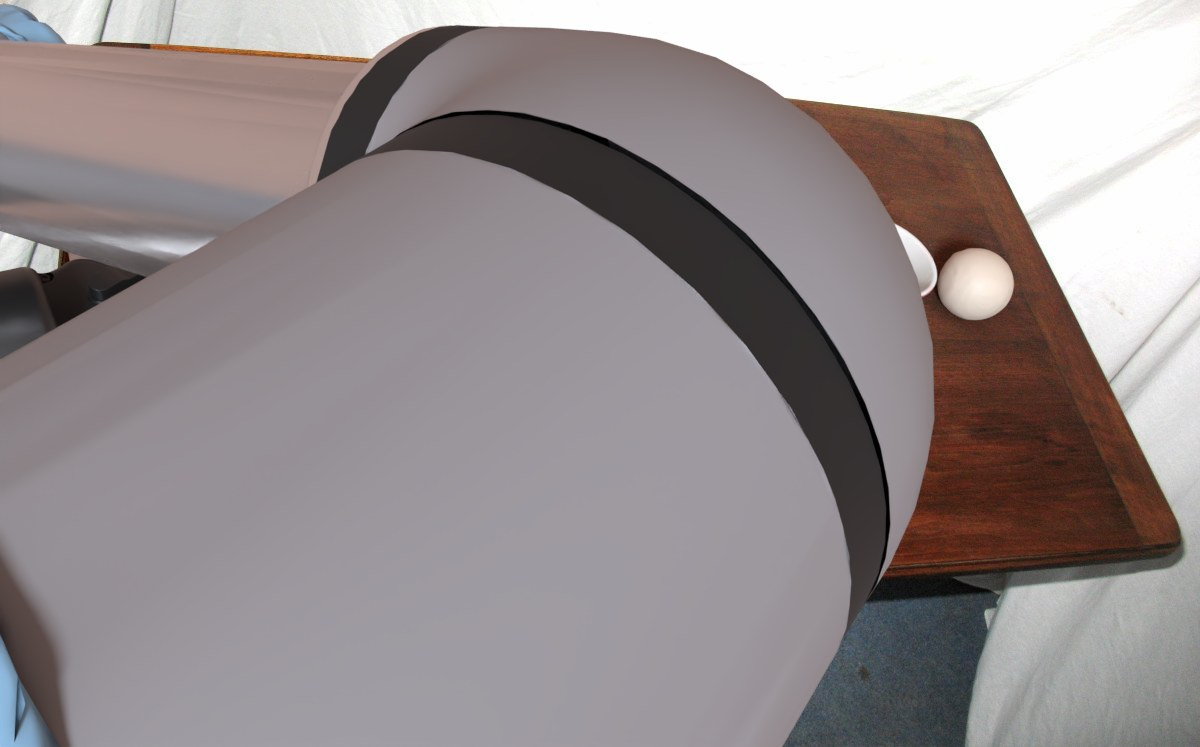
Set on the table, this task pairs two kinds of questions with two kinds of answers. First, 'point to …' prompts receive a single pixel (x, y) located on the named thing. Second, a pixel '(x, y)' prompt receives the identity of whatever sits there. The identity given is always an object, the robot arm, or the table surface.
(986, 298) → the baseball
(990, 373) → the table surface
